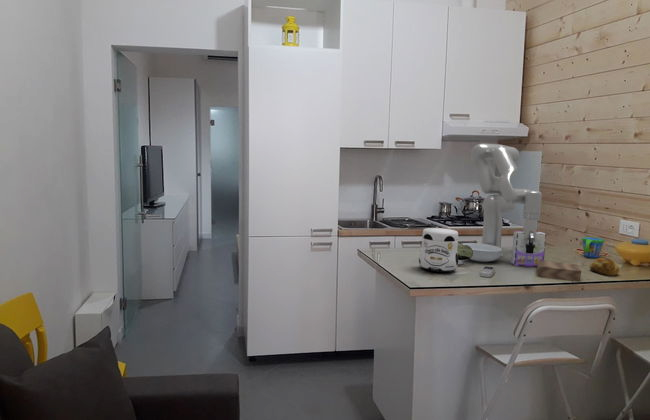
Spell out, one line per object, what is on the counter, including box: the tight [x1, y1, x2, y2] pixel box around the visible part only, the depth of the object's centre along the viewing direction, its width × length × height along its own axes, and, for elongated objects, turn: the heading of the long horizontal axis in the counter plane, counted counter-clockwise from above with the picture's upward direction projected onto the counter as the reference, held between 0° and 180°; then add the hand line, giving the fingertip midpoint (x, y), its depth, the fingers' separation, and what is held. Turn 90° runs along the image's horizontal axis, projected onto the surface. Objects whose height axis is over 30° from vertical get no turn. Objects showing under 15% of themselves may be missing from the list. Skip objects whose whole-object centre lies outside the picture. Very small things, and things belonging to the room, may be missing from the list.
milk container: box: [418, 227, 459, 273], centre depth 229 cm, size 17×17×18 cm
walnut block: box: [536, 260, 582, 282], centre depth 229 cm, size 17×14×5 cm
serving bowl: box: [462, 242, 503, 263], centre depth 256 cm, size 21×21×7 cm
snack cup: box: [581, 236, 605, 259], centre depth 276 cm, size 16×11×10 cm
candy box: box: [511, 230, 547, 268], centre depth 247 cm, size 14×6×16 cm, turn 84°
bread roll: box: [589, 257, 620, 276], centre depth 238 cm, size 13×10×8 cm
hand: (528, 251), depth 248 cm, fingers open, 9 cm apart
